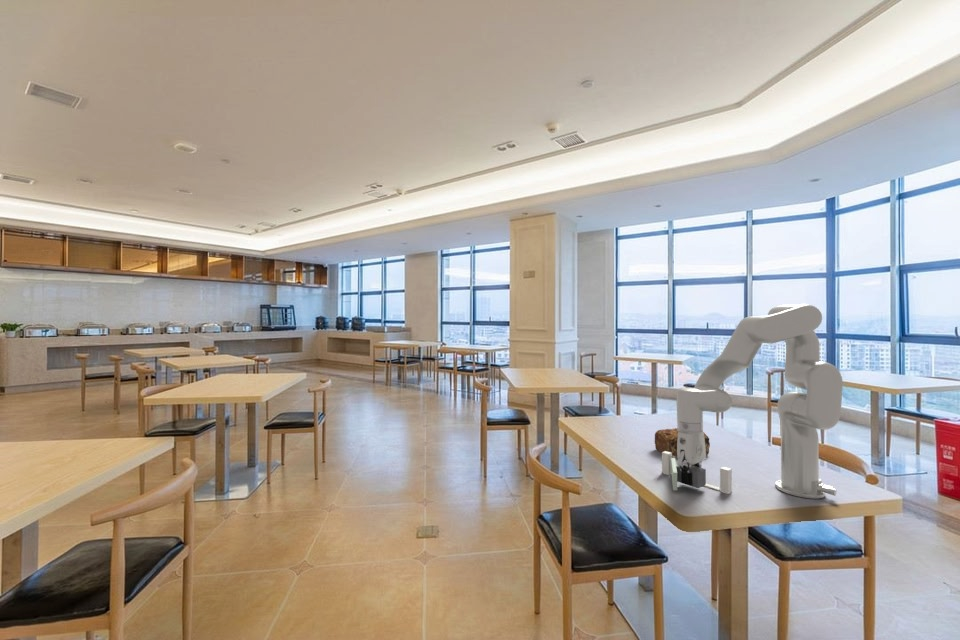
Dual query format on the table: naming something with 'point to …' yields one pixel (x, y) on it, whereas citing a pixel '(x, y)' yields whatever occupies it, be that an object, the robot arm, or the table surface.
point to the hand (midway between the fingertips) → (691, 481)
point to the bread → (672, 441)
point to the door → (674, 473)
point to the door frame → (724, 483)
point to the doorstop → (694, 476)
